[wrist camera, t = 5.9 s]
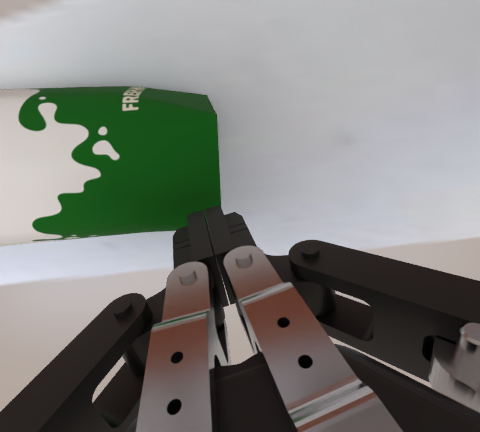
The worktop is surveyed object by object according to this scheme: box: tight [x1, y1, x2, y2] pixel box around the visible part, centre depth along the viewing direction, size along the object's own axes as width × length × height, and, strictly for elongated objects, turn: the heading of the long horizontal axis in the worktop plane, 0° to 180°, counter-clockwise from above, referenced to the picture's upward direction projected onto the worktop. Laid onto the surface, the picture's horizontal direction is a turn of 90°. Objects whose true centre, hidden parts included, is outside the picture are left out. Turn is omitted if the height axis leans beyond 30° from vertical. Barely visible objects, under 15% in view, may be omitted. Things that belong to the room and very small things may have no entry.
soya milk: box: [0, 86, 221, 246], centre depth 19 cm, size 9×9×20 cm
